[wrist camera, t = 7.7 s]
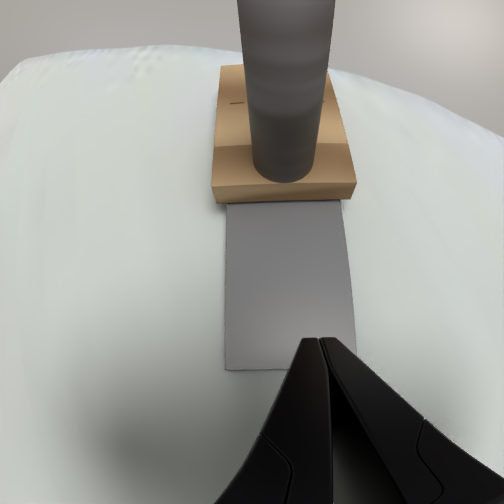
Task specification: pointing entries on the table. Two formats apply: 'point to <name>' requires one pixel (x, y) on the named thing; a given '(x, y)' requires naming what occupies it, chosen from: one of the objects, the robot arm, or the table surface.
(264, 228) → the rail
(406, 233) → the table surface
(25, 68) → the table surface
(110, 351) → the table surface
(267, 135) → the wooden base with post
